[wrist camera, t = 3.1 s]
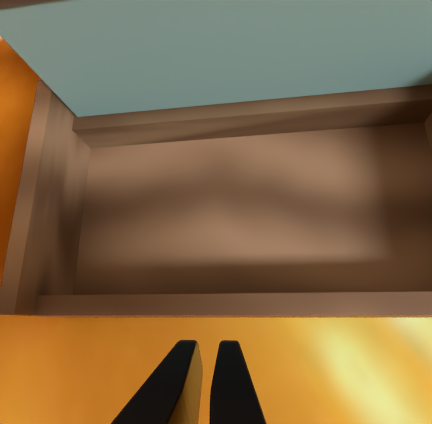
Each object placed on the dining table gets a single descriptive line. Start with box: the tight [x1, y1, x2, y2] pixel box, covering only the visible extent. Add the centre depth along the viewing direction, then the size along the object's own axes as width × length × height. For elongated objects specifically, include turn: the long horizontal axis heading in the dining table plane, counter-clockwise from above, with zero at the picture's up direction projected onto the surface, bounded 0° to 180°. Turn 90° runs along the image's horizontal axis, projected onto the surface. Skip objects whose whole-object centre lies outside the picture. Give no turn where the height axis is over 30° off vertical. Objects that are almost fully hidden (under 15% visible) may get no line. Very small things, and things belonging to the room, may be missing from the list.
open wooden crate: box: [0, 80, 432, 317], centre depth 20 cm, size 14×24×6 cm, turn 90°
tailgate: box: [0, 0, 432, 117], centre depth 17 cm, size 2×21×10 cm, turn 90°
